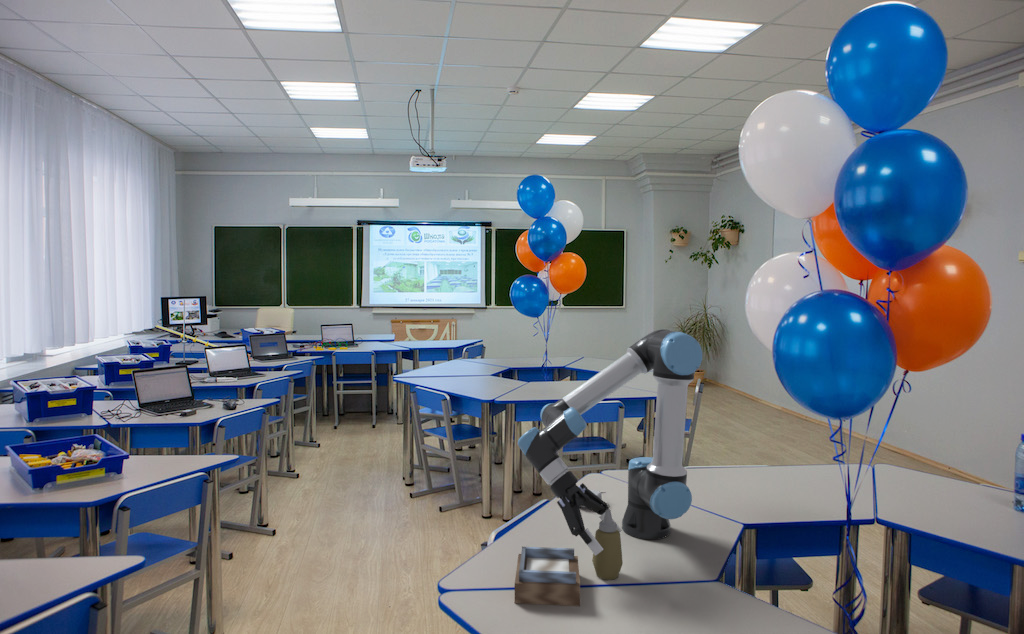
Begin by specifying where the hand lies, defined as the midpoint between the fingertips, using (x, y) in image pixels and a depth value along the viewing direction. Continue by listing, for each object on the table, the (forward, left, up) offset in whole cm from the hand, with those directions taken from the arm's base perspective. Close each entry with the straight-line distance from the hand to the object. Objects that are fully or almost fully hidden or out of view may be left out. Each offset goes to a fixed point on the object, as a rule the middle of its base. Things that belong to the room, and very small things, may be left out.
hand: (609, 542), depth 159 cm
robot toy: (+5, -54, -10) cm, 55 cm away
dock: (+16, +7, -9) cm, 20 cm away
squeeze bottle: (0, -1, -9) cm, 9 cm away
